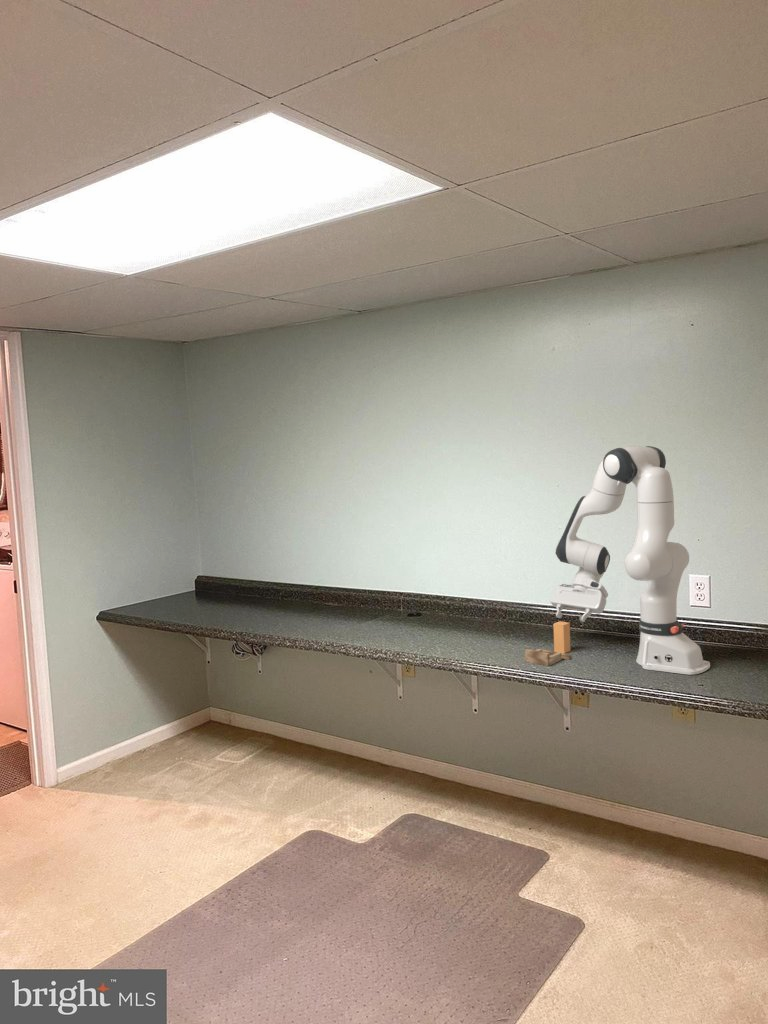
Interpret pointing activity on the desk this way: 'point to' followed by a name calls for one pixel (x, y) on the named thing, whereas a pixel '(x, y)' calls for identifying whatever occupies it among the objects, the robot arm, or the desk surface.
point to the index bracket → (541, 657)
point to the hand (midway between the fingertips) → (569, 618)
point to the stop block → (561, 637)
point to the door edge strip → (564, 656)
